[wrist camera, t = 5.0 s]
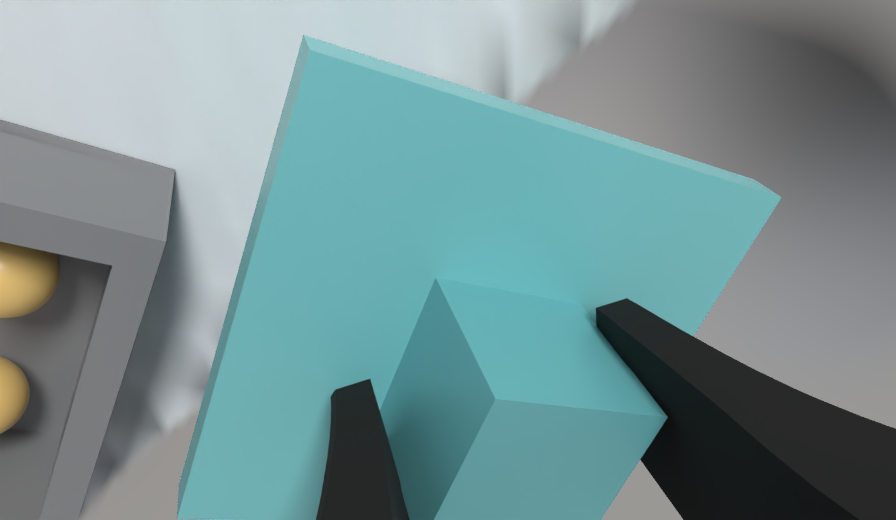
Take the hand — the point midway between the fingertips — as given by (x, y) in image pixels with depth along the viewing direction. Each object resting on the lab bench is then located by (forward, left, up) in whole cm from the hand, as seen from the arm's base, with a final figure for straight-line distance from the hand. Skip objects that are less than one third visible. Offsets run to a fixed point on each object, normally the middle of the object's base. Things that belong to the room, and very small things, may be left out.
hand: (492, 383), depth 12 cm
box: (-6, +10, -8) cm, 14 cm away
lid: (0, 0, -2) cm, 2 cm away
